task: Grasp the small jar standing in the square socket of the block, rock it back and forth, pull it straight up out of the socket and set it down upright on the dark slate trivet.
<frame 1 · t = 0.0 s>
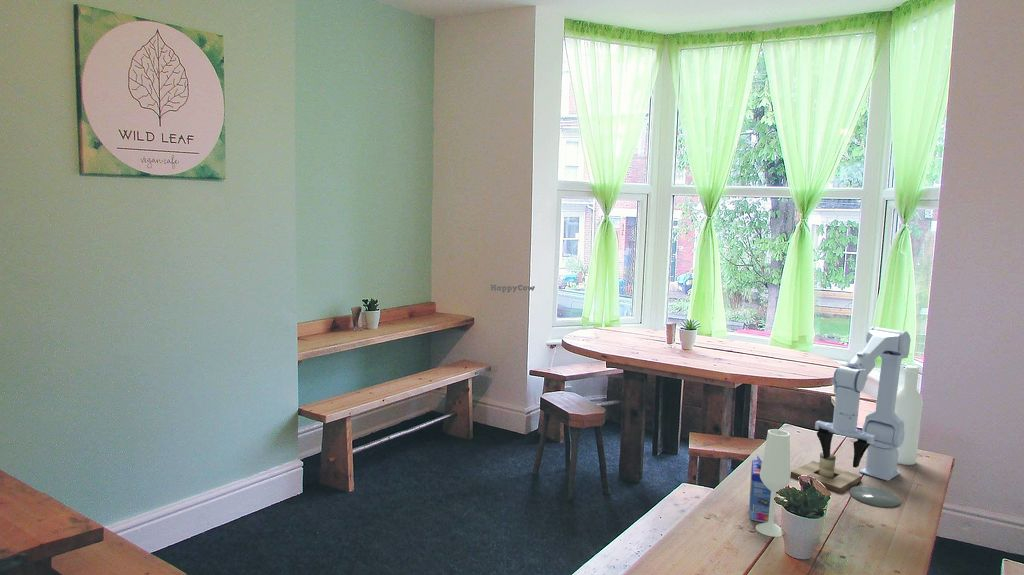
hand: (840, 462, 179), 10 cm above the table, tool pointing down, fingers open, 7 cm apart
bottle: (901, 461, 211), on the table
champagne flute: (770, 530, 161), on the table
trivet: (874, 497, 182), on the table
small jar: (826, 467, 193), in the socket block
ink cartridge box: (759, 514, 170), on the table
socket block: (825, 478, 194), on the table
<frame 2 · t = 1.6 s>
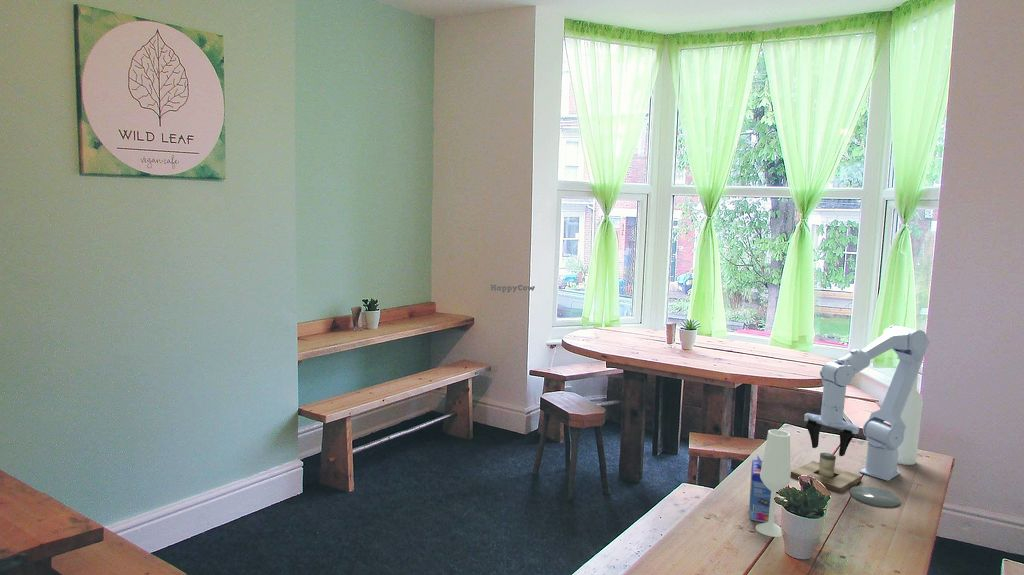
hand: (828, 451, 193), 8 cm above the table, tool pointing down, fingers open, 7 cm apart
nothing on the table moved.
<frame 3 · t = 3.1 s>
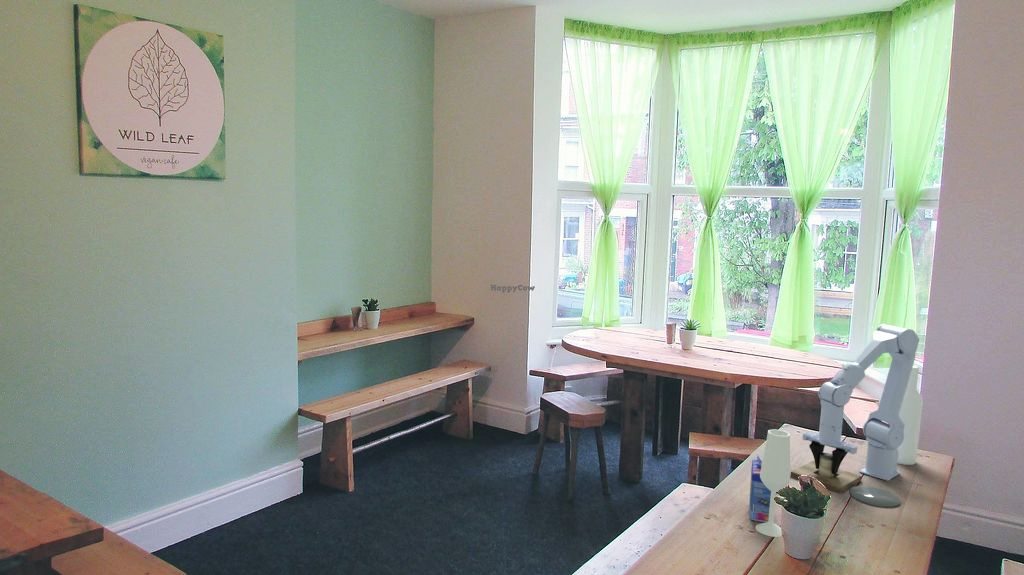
hand: (826, 470, 194), 2 cm above the table, tool pointing down, fingers closed on small jar, 4 cm apart
small jar: (826, 467, 193), in the socket block, touching gripper
everything else where it was.
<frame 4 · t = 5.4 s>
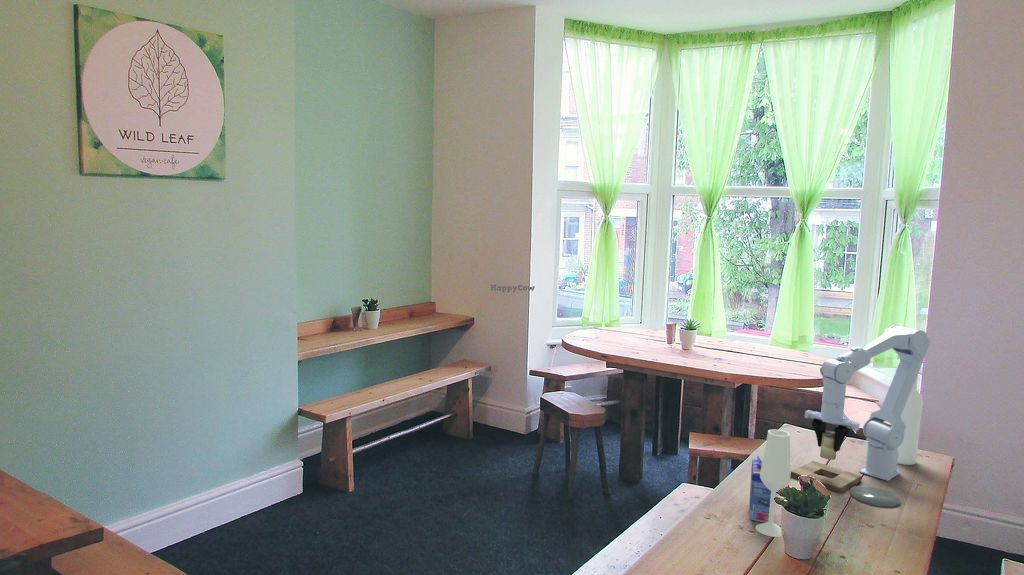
hand: (828, 448, 193), 9 cm above the table, tool pointing down, fingers closed on small jar, 4 cm apart
small jar: (828, 445, 193), point 10 cm above the table, touching gripper
everything else where it was.
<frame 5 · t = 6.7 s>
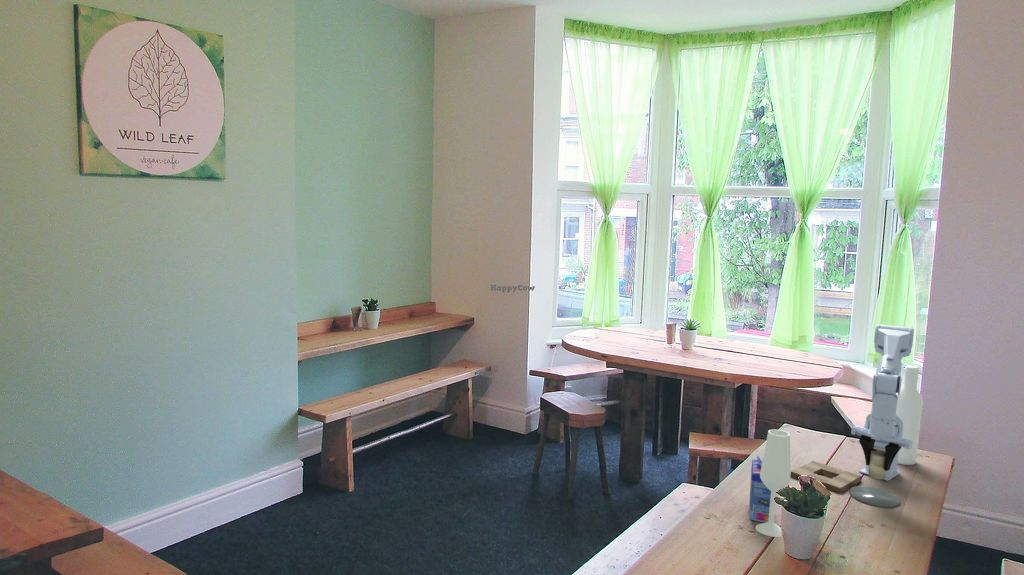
hand: (877, 467, 181), 9 cm above the table, tool pointing down, fingers closed on small jar, 4 cm apart
small jar: (878, 463, 181), point 10 cm above the table, touching gripper
everything else where it was.
when the fingers open (4 cm above the table, at t = 7.8 s): small jar drops 1 cm, resting on trivet.
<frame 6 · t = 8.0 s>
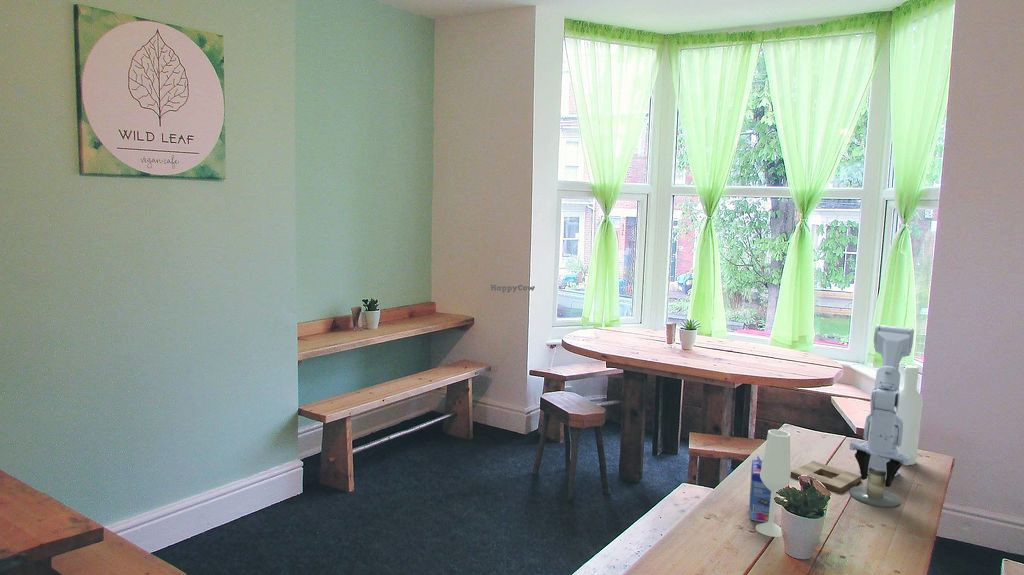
hand: (876, 482, 182), 4 cm above the table, tool pointing down, fingers open, 5 cm apart
small jar: (875, 482, 182), on the trivet, point 4 cm above the table
everything else where it was.
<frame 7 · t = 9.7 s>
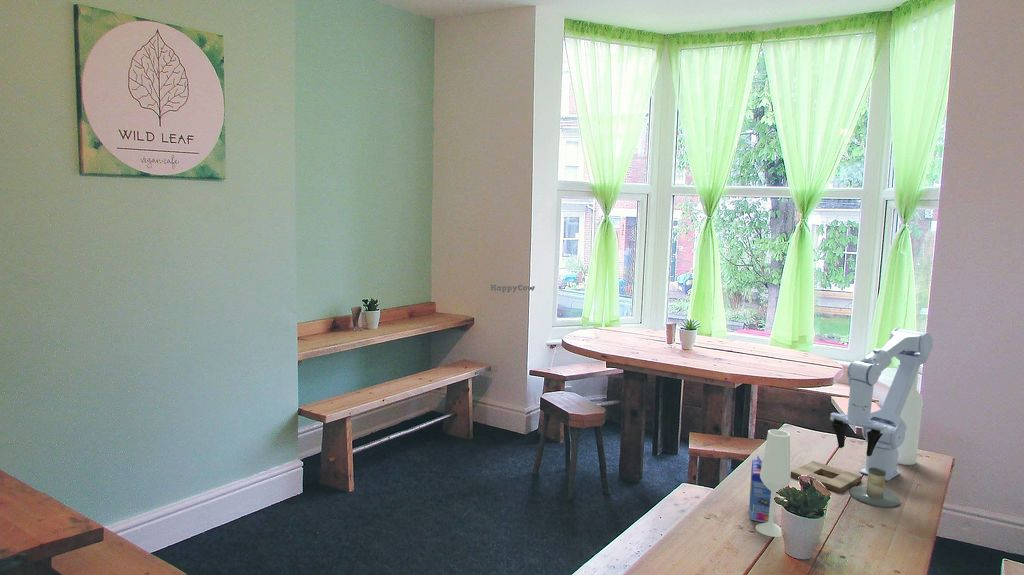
hand: (854, 451, 190), 9 cm above the table, tool pointing down, fingers open, 7 cm apart
nothing on the table moved.
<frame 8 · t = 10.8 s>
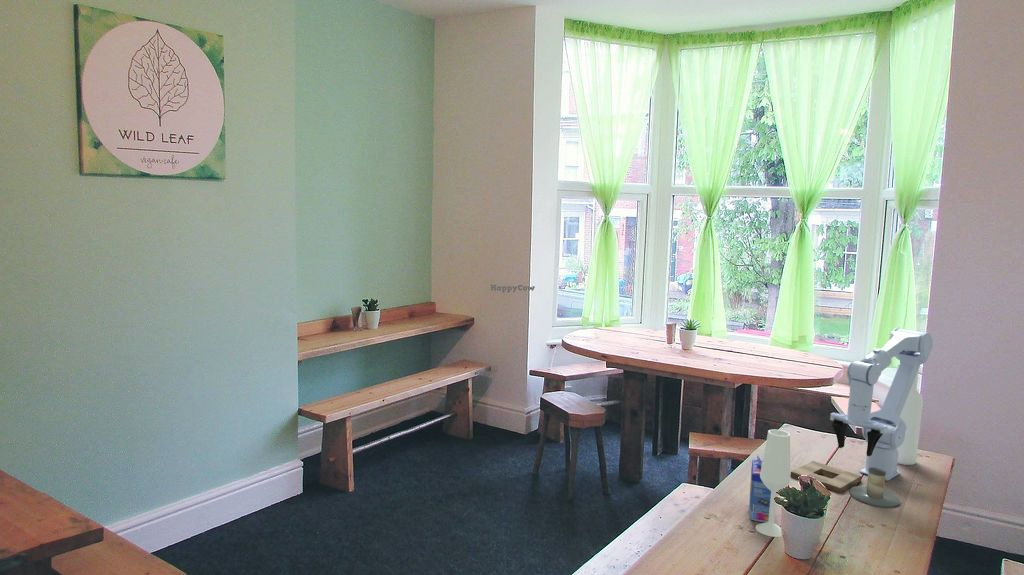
hand: (854, 451, 190), 9 cm above the table, tool pointing down, fingers open, 7 cm apart
nothing on the table moved.
at the end: small jar inside the target area on the trivet (0.0 cm from its centre), point 4.1 cm above the trivet's base; small jar tilted 0°; the gripper is holding nothing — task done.
